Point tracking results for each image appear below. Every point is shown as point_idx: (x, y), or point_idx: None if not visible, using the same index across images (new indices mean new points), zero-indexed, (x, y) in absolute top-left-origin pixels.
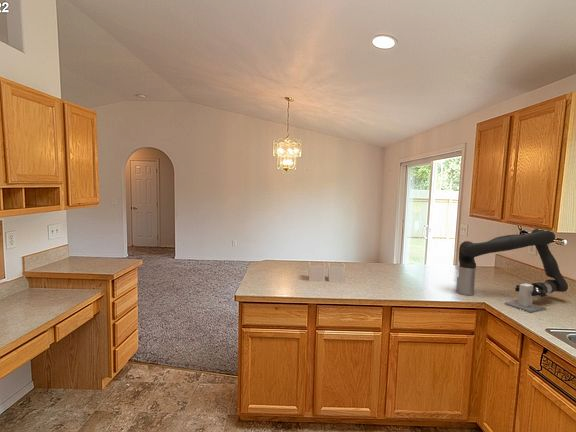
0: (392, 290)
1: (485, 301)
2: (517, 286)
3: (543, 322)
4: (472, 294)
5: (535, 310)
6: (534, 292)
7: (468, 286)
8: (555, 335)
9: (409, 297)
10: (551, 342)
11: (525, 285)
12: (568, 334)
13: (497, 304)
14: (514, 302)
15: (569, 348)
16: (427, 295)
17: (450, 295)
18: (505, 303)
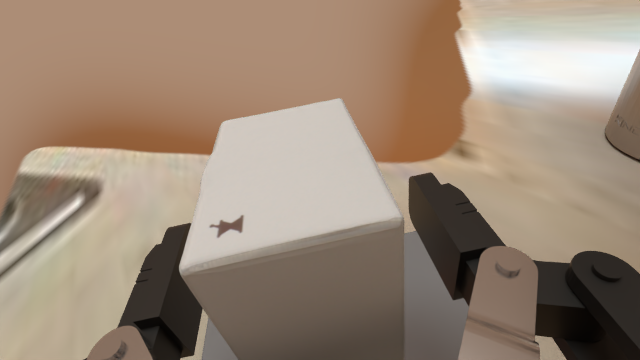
0: (560, 8)
1: (481, 166)
2: (567, 266)
3: (116, 237)
4: (629, 149)
5: (205, 342)
6: (159, 253)
7: (635, 66)
8: (61, 184)
9: (486, 24)
10: (76, 147)
11: (264, 124)
12: (4, 233)
13: None
14: (430, 318)
15: (27, 161)
16: (528, 44)
17: (563, 84)
18: (417, 233)
